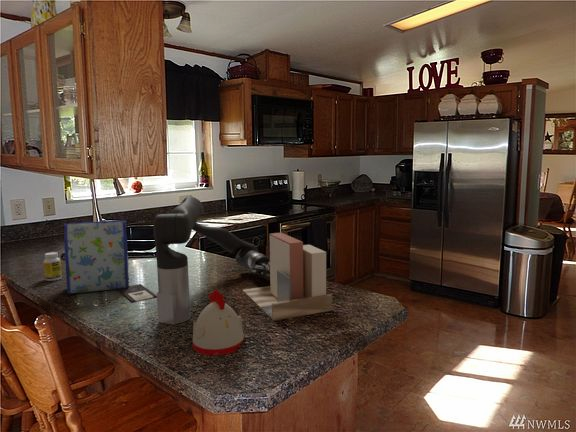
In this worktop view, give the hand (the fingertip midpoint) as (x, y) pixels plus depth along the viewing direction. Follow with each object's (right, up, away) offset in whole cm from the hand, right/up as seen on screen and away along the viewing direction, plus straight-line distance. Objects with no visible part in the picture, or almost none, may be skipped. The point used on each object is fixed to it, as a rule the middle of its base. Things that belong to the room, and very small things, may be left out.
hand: (275, 274), depth 154 cm
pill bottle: (-94, -6, +25) cm, 97 cm away
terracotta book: (+4, -8, -7) cm, 11 cm away
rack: (+3, -9, -6) cm, 11 cm away
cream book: (+12, -9, -11) cm, 18 cm away
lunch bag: (-69, -7, +14) cm, 71 cm away
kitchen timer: (-15, -14, -37) cm, 42 cm away
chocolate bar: (-52, -8, +6) cm, 53 cm away
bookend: (+1, -10, -17) cm, 20 cm away
